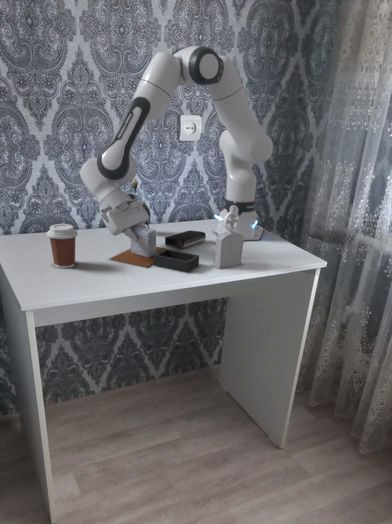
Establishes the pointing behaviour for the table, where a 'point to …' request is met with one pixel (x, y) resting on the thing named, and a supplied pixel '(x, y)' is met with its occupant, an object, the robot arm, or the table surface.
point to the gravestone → (229, 243)
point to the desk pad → (136, 258)
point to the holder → (176, 260)
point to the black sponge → (185, 239)
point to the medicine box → (144, 241)
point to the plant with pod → (134, 186)
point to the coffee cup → (63, 244)
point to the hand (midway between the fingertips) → (141, 238)
